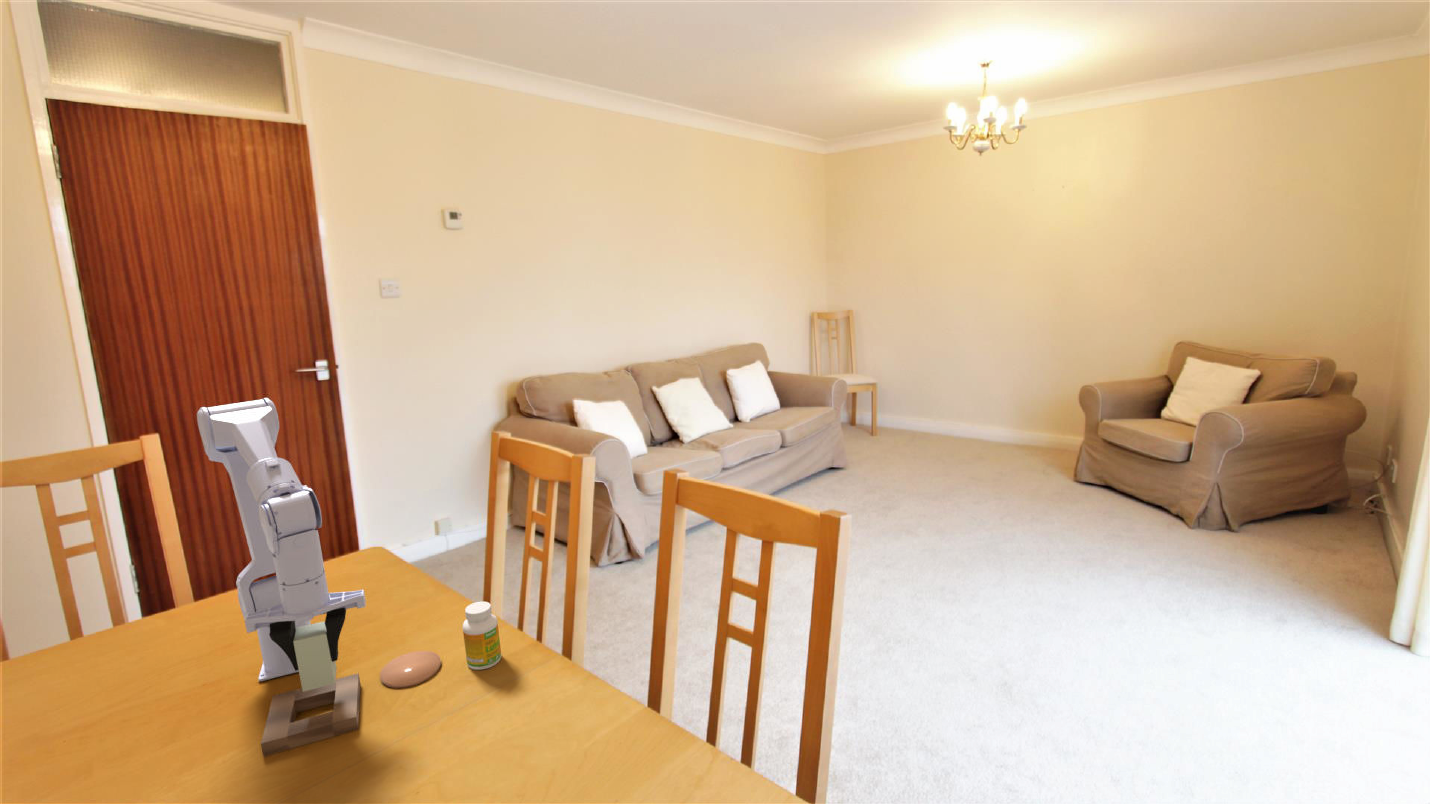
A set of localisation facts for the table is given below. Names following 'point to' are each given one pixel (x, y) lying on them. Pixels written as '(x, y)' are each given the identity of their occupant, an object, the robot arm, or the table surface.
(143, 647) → the table surface
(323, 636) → the peg
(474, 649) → the supplement bottle
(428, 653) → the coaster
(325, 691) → the block
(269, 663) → the robot arm
